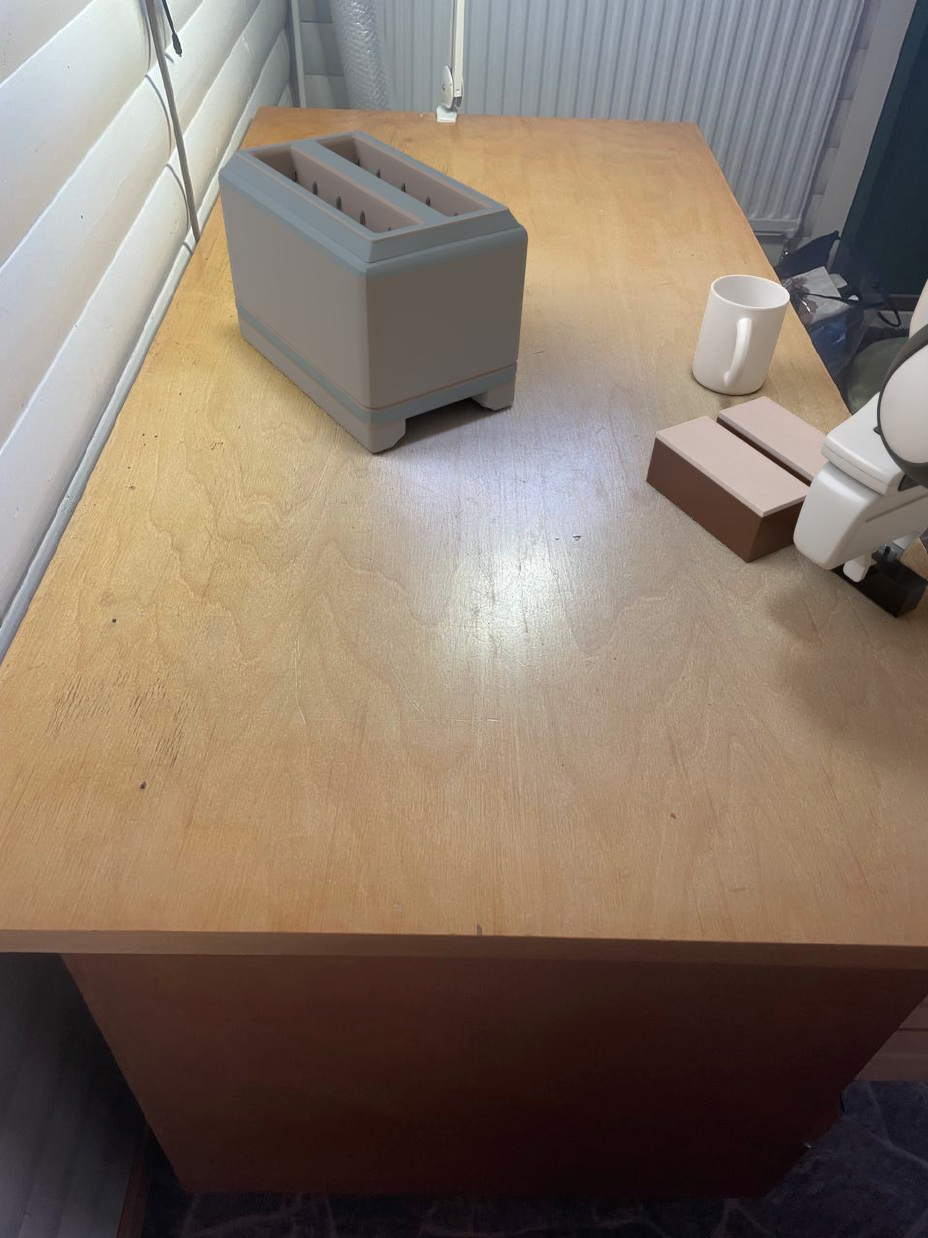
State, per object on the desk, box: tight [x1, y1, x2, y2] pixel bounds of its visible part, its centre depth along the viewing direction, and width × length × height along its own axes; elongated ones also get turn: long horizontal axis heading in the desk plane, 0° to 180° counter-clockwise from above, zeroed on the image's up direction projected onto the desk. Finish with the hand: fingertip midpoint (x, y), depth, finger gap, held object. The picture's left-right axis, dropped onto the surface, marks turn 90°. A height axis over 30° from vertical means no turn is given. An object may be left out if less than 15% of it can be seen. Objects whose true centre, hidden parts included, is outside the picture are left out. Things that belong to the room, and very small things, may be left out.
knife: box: [830, 547, 928, 619], centre depth 82 cm, size 22×3×3 cm, turn 31°
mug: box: [692, 274, 791, 396], centre depth 99 cm, size 12×8×10 cm
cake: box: [645, 395, 829, 563], centre depth 85 cm, size 14×14×6 cm
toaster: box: [217, 129, 529, 454], centre depth 96 cm, size 19×33×20 cm, turn 36°
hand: (871, 568), depth 77 cm, fingers closed on knife, 2 cm apart
